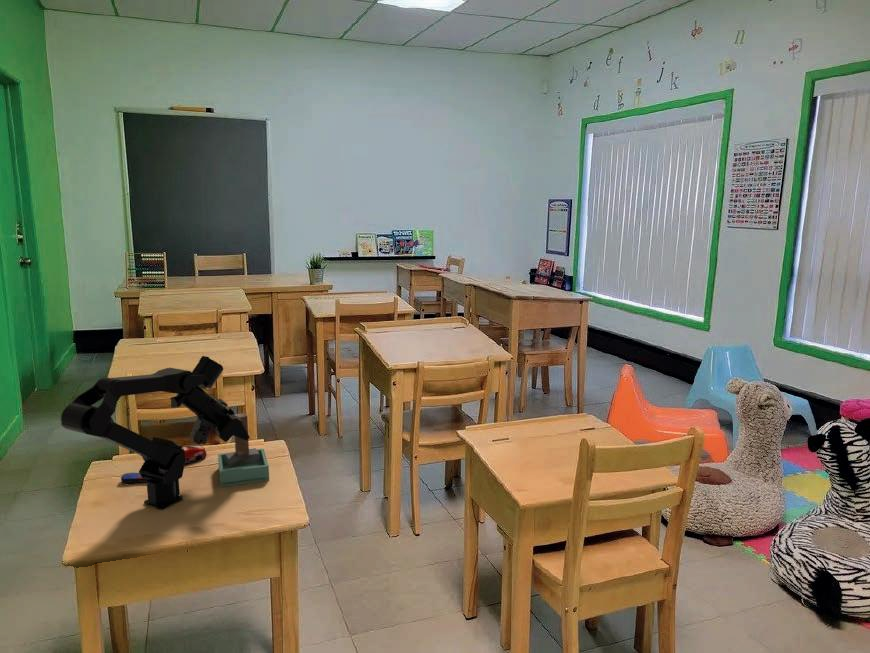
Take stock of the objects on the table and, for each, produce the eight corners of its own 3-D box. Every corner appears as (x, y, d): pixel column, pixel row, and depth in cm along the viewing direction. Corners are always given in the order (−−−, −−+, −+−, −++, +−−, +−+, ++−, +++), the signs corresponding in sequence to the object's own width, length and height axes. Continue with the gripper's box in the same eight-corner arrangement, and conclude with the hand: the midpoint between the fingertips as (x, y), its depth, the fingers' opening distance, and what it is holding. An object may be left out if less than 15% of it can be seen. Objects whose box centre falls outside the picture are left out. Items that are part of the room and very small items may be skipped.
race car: (163, 473, 171) (162, 459, 170) (154, 467, 175) (153, 453, 174) (209, 459, 181) (208, 445, 180) (200, 453, 184) (199, 440, 183)
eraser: (170, 477, 170) (169, 470, 169) (166, 483, 166) (165, 477, 165) (124, 478, 168) (124, 472, 167) (119, 485, 164) (119, 478, 163)
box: (269, 480, 168) (268, 465, 167) (220, 486, 163) (220, 472, 163) (264, 462, 179) (263, 448, 178) (218, 468, 174) (217, 454, 174)
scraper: (229, 467, 166) (226, 420, 164) (225, 462, 170) (223, 415, 167) (259, 461, 171) (258, 415, 168) (255, 456, 174) (253, 410, 171)
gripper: (172, 417, 168) (217, 449, 176) (185, 440, 152) (234, 474, 160) (201, 384, 170) (245, 417, 178) (217, 404, 155) (265, 439, 162)
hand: (246, 436), depth 170 cm, fingers closed on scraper, 3 cm apart
